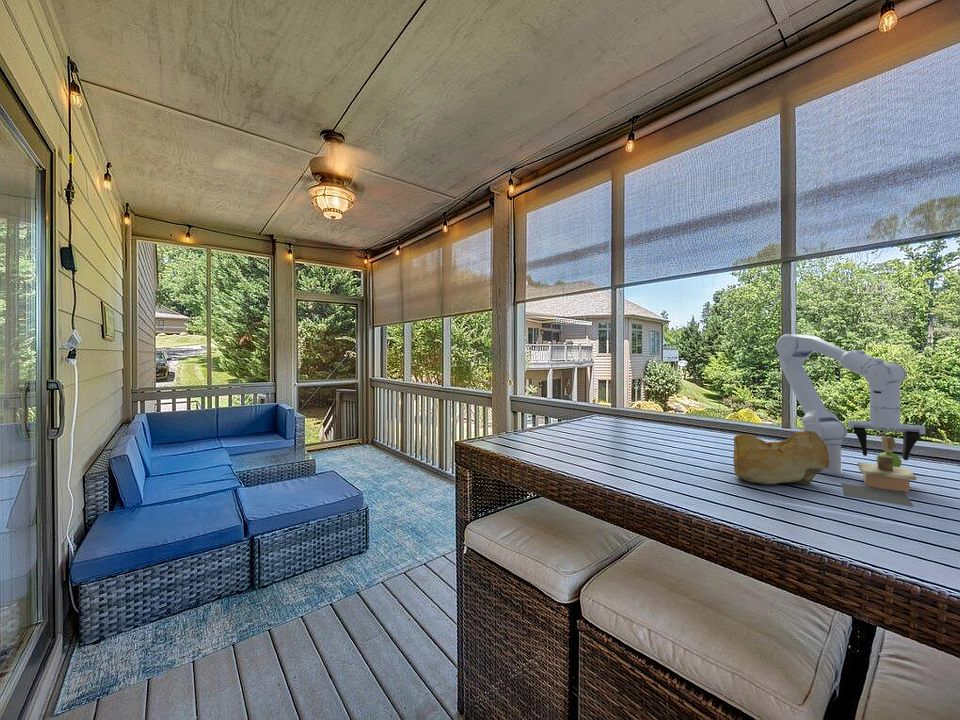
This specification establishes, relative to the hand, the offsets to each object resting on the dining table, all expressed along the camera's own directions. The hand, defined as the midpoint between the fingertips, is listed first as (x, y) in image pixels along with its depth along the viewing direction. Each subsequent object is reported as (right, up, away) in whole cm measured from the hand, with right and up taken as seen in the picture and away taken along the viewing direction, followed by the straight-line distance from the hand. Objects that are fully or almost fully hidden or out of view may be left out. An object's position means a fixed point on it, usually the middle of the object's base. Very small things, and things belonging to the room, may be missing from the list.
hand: (884, 457), depth 107 cm
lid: (0, -4, 0) cm, 4 cm away
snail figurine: (+17, -8, +15) cm, 24 cm away
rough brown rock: (-25, -9, +8) cm, 27 cm away
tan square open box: (0, -8, 0) cm, 8 cm away
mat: (-9, -8, -7) cm, 14 cm away
